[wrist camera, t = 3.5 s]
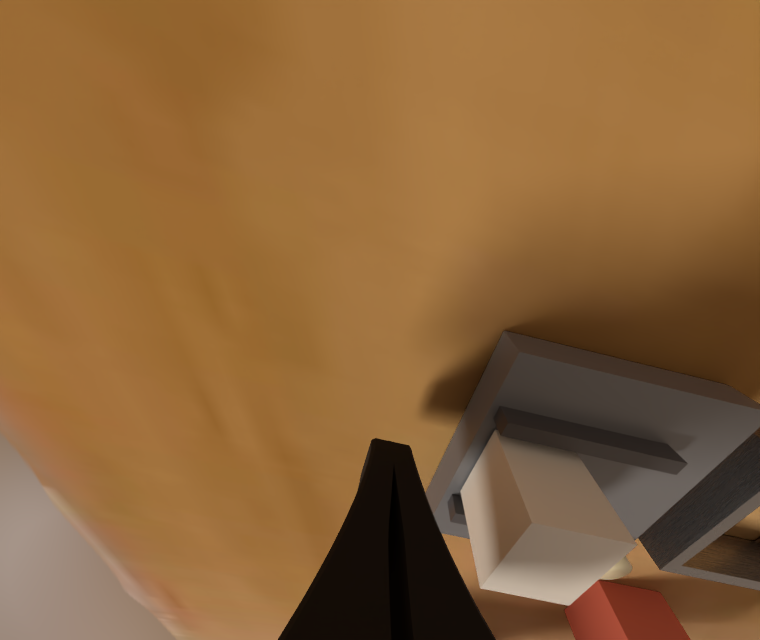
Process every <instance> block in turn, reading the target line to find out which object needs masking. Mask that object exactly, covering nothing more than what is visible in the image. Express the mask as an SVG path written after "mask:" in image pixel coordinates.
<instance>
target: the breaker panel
mask: <svg viewBox="0 0 760 640" xmlns="http://www.w3.org/2000/svg"><path fill="white" fill-rule="evenodd" d="M759 427H760V404H759V403H757V402H755V401H754V400H752V399H750V398H749V397H747V396H745V395H744V394H742V393H740V392H739V391H737V390H736V389H734V388H732V387H731V386H729V385H726V384H722V383H717V382H713V381H709V380H705V379H701V378H697V377H693V376H689V375H685V374H681V373H676V372H672V371H668V370H664V369H660V368H656V367H652V366H648V365H644V364H640V363H635V362H631V361H627V360H623V359H619V358H615V357H611V356H607V355H603V354H599V353H594V352H590V351H586V350H582V349H578V348H574V347H570V346H566V345H562V344H558V343H553V342H549V341H545V340H541V339H537V338H533V337H529V336H525V335H521V334H517V333H512V332H508V331H503V333H502V336H501V338H500V340H499V342H498V344H497V346H496V348H495V350H494V352H493V354H492V356H491V358H490V360H489V362H488V365H487V367H486V369H485V371H484V373H483V375H482V377H481V379H480V381H479V383H478V385H477V387H476V389H475V391H474V394H473V396H472V398H471V400H470V402H469V404H468V406H467V408H466V410H465V412H464V414H463V416H462V418H461V420H460V423H459V425H458V427H457V429H456V431H455V433H454V435H453V437H452V439H451V441H450V443H449V445H448V447H447V450H446V452H445V454H444V456H443V458H442V460H441V462H440V464H439V466H438V468H437V470H436V472H435V474H434V476H433V479H432V481H431V483H430V485H429V487H428V489H427V491H426V493H425V494H426V497H427V499H428V502H429V504H430V507H431V510H432V512H433V515H434V517H435V520H436V522H437V525H438V527H439V529H440V532H441V533H444V534H448V535H453V536H458V537H463V538H468V539H470V536H469V531H468V526H467V522H466V517H465V512H464V507H463V502H462V497H461V492H460V491H461V489H462V487H463V486H464V484H465V482H466V480H467V479H468V477H469V475H470V473H471V471H472V470H473V468H474V466H475V464H476V463H477V461H478V459H479V457H480V455H481V454H482V452H483V450H484V448H485V447H486V445H487V443H488V441H489V439H490V438H491V436H492V434H493V432H494V431H495V430H498V431H499V433H500V436H504V437H508V438H513V439H517V440H522V441H526V442H531V443H535V444H540V445H544V446H548V447H553V448H557V449H562V450H566V451H571V452H575V453H577V454H578V456H579V457H580V459H581V460H582V462H583V463H584V465H585V466H586V468H587V469H588V471H589V472H590V474H591V476H592V477H593V479H594V480H595V482H596V483H597V485H598V486H599V488H600V489H601V491H602V492H603V494H604V495H605V497H606V498H607V500H608V501H609V503H610V504H611V506H612V507H613V509H614V510H615V512H616V513H617V515H618V516H619V518H620V519H621V521H622V522H623V524H624V525H625V527H626V528H627V530H628V531H629V533H630V534H631V536H632V537H633V539H634V540H636V539H637V538H638V537H639V536H640V535H641V534H642V533H644V532H645V531H646V530H647V529H648V528H649V527H650V526H651V525H652V524H653V523H655V522H656V521H657V520H658V519H659V518H660V517H661V516H662V515H663V514H664V513H666V512H667V511H668V510H669V509H670V508H671V507H672V506H673V505H674V504H675V503H677V502H678V501H679V500H680V499H681V498H682V497H683V496H684V495H685V494H687V493H688V492H689V491H690V490H691V489H692V488H693V487H694V486H695V485H696V484H698V483H699V482H700V481H701V480H702V479H703V478H704V477H705V476H706V475H707V474H709V473H710V472H711V471H712V470H713V469H714V468H715V467H716V466H717V465H719V464H720V463H721V462H722V461H723V460H724V459H725V458H726V457H727V456H728V455H730V454H731V453H732V452H733V451H734V450H735V449H736V448H737V447H738V446H739V445H741V444H742V443H743V442H744V441H745V440H746V439H747V438H748V437H749V436H750V435H752V434H753V433H754V432H755V431H756V430H757V429H758V428H759ZM631 570H632V566H631V564H630V562H629V561H628V559H627V558H626V556H624V557H623V558H622V559H621V560H620V561H619V562H618V563H617V564H615V565H614V566H613V567H612V568H611V569H610V570H609V571H608V572H607V573H605V574H604V575H603V576H602V577H601V578H600V579H603V580H613V579H619V578H622V577H624V576H626V575H628V574H629V573H630V572H631Z"/></svg>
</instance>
